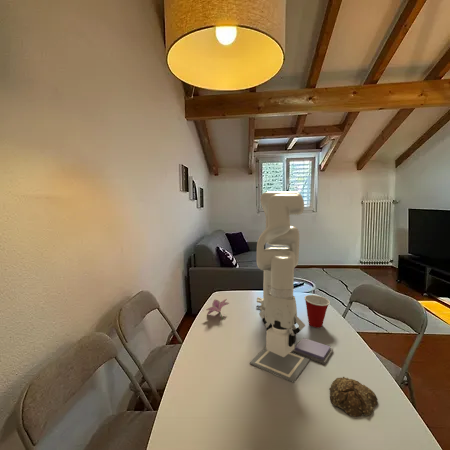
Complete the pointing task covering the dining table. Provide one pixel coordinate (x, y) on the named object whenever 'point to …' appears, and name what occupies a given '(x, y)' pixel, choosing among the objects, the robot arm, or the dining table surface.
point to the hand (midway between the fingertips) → (280, 340)
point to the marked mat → (281, 364)
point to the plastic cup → (316, 309)
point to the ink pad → (313, 350)
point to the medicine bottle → (278, 340)
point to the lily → (217, 306)
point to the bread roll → (352, 397)
